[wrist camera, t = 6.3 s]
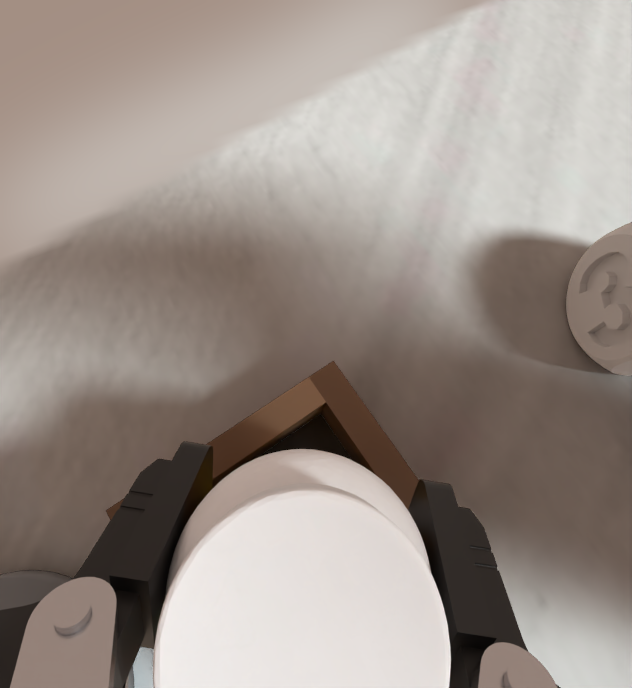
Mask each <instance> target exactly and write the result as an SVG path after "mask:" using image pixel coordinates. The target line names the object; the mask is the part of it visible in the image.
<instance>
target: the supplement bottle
mask: <svg viewBox="0 0 632 688" xmlns="http://www.w3.org/2000/svg"><path fill="white" fill-rule="evenodd" d="M450 668H451V652H450V641H449V632H448V624H447V620H446V615H445V611H444V607H443V604H442V600H441V597H440V594H439V591H438V589H437V586H436V583H435V581H434V578H433V576H432V573H431V568H430V563H429V559H428V555H427V552H426V548H425V545H424V542H423V540H422V537H421V534H420V532H419V530H418V528H417V526H416V523H415V522H414V520H413V518H412V516H411V515H410V513H409V511H408V510H407V508H406V507H405V505H404V504H403V502H402V501H401V500H400V499H399V497H398V496H397V495H396V494H395V493H394V492H393V490H392V489H391V488H390V487H389V486H388V485H387V484H386V483H385V482H384V481H382V480H381V479H380V478H379V477H378V476H376V475H375V474H374V473H372V472H371V471H369V470H368V469H366V468H365V467H363V466H361V465H360V464H358V463H356V462H354V461H352V460H350V459H348V458H345V457H343V456H340V455H337V454H333V453H330V452H325V451H320V450H314V449H291V450H283V451H279V452H274V453H270V454H267V455H264V456H261V457H258V458H255V459H253V460H252V461H250V462H248V463H246V464H244V465H242V466H240V467H239V468H237V469H236V470H234V471H233V472H231V473H230V474H229V475H227V476H226V477H225V478H224V479H222V480H221V481H220V482H219V483H218V484H217V485H216V486H215V487H214V488H213V489H212V490H211V491H210V492H209V493H208V494H207V495H206V497H205V498H204V499H203V500H202V501H201V503H200V504H199V505H198V506H197V508H196V509H195V511H194V512H193V514H192V515H191V517H190V518H189V520H188V522H187V524H186V525H185V527H184V529H183V531H182V534H181V536H180V538H179V540H178V543H177V545H176V548H175V551H174V554H173V558H172V561H171V565H170V569H169V574H168V579H167V586H166V595H165V601H164V603H163V607H162V611H161V614H160V618H159V622H158V627H157V633H156V640H155V646H154V656H153V684H154V688H449V682H450Z"/></svg>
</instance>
